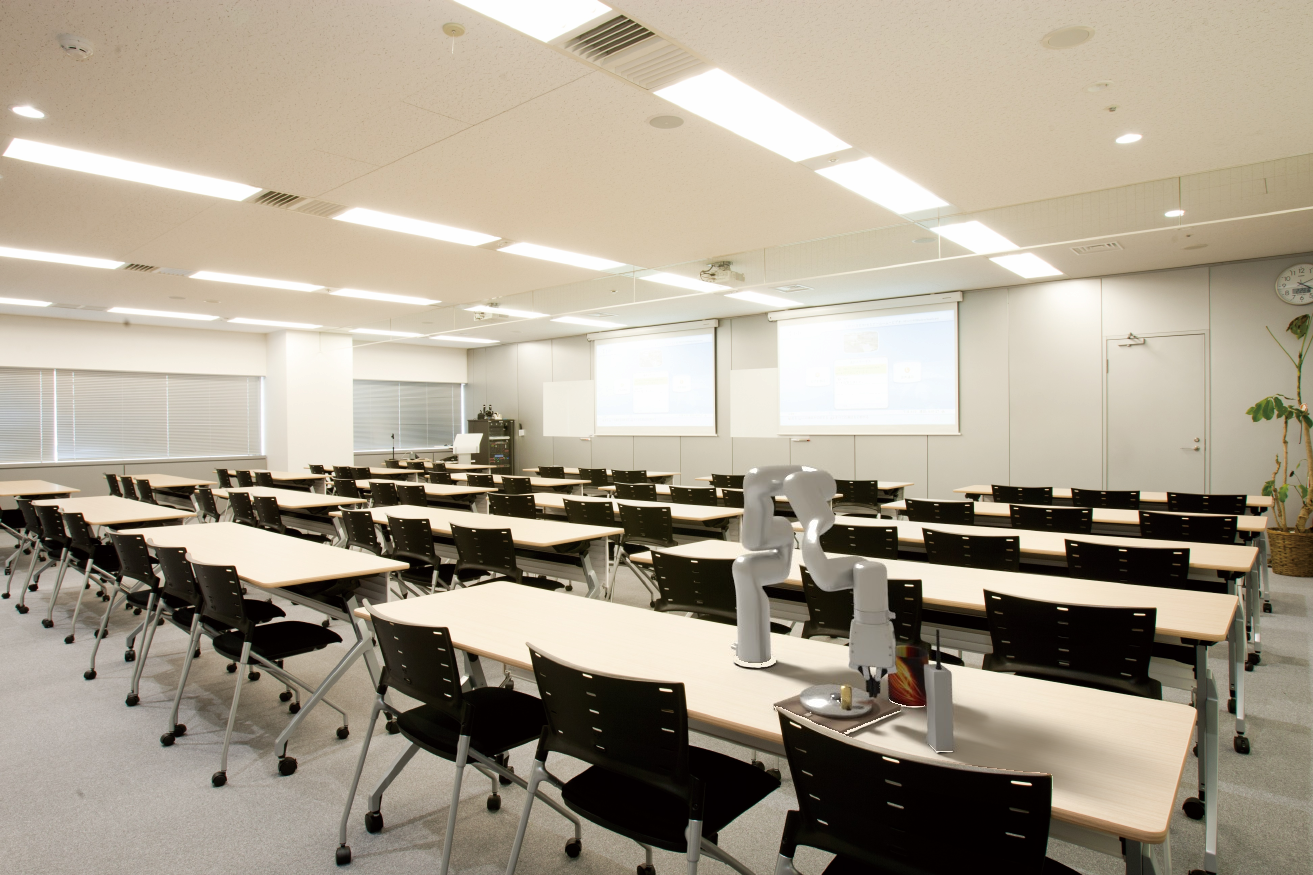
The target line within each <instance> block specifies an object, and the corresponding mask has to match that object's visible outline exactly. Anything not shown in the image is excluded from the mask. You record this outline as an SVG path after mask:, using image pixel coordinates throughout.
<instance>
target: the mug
mask: <svg viewBox="0 0 1313 875" xmlns="http://www.w3.org/2000/svg"><path fill="white" fill-rule="evenodd" d="M929 654H930V653H929V652H928V650H926V649H923V648H921V647H918V646H917V647H916V646H912V645H911V646H910V645H896V666H897V672H896V673H891V674H887V691H888V692H887V695H888V696H887V697H889V699H890V700H891V701H893V702H895V703H898V704H902V705H906V706H924V705H925V706H926V707H927V695H926V689H925V676H924V665H925V664H930V661H929V660H930V658H929V657H930V656H929ZM889 699H888V700H889Z"/></svg>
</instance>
